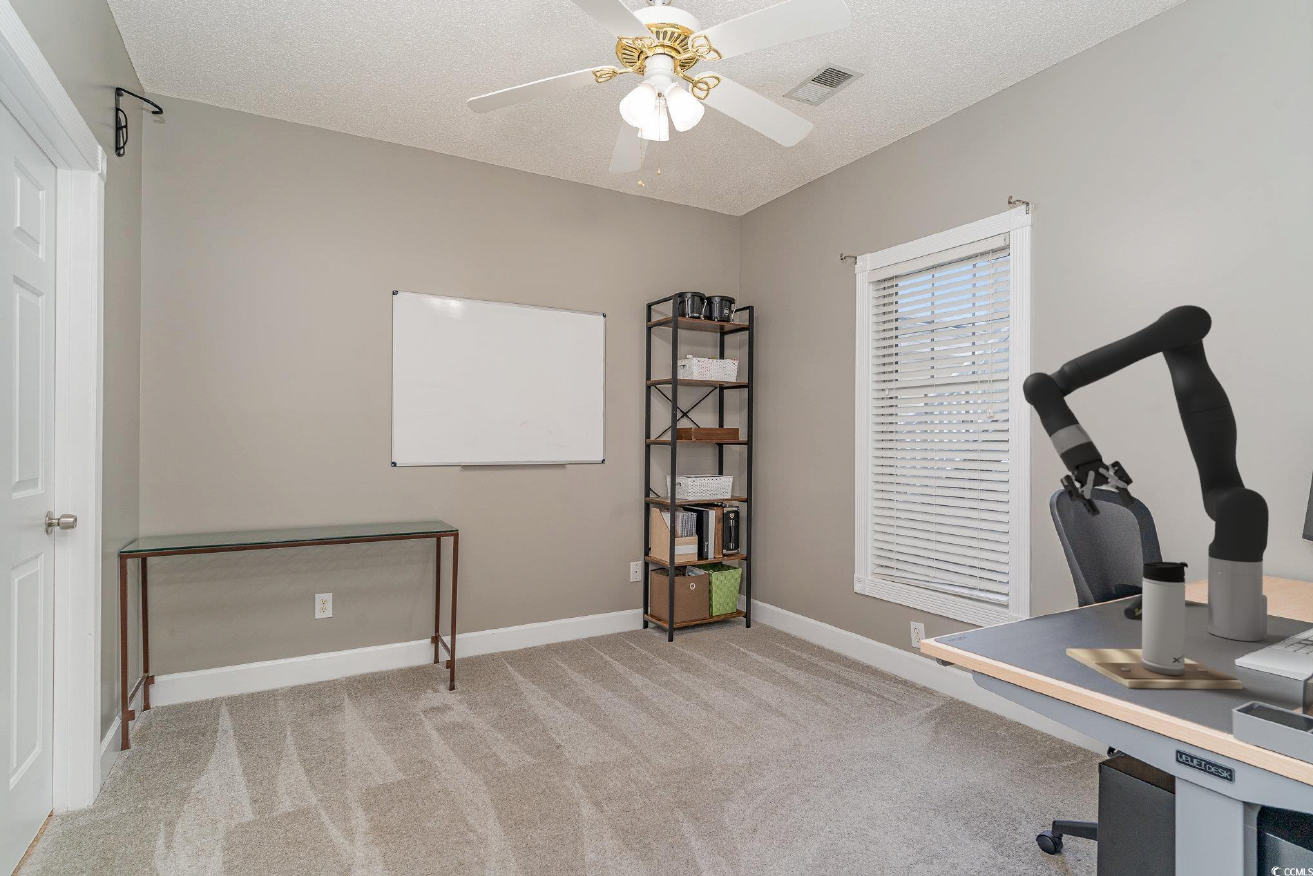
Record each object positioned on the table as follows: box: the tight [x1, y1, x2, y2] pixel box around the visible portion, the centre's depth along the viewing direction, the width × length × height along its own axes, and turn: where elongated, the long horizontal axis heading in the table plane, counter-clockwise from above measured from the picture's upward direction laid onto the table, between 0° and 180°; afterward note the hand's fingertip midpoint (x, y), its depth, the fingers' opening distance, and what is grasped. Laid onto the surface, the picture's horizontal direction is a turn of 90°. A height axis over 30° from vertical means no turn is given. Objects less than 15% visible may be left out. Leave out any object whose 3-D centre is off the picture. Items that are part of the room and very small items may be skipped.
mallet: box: [1123, 571, 1144, 620], centre depth 172 cm, size 29×6×10 cm, turn 131°
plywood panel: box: [1065, 648, 1244, 690], centre depth 126 cm, size 20×18×2 cm
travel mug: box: [1141, 561, 1189, 676], centre depth 123 cm, size 6×7×20 cm
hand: (1113, 510), depth 151 cm, fingers open, 8 cm apart
